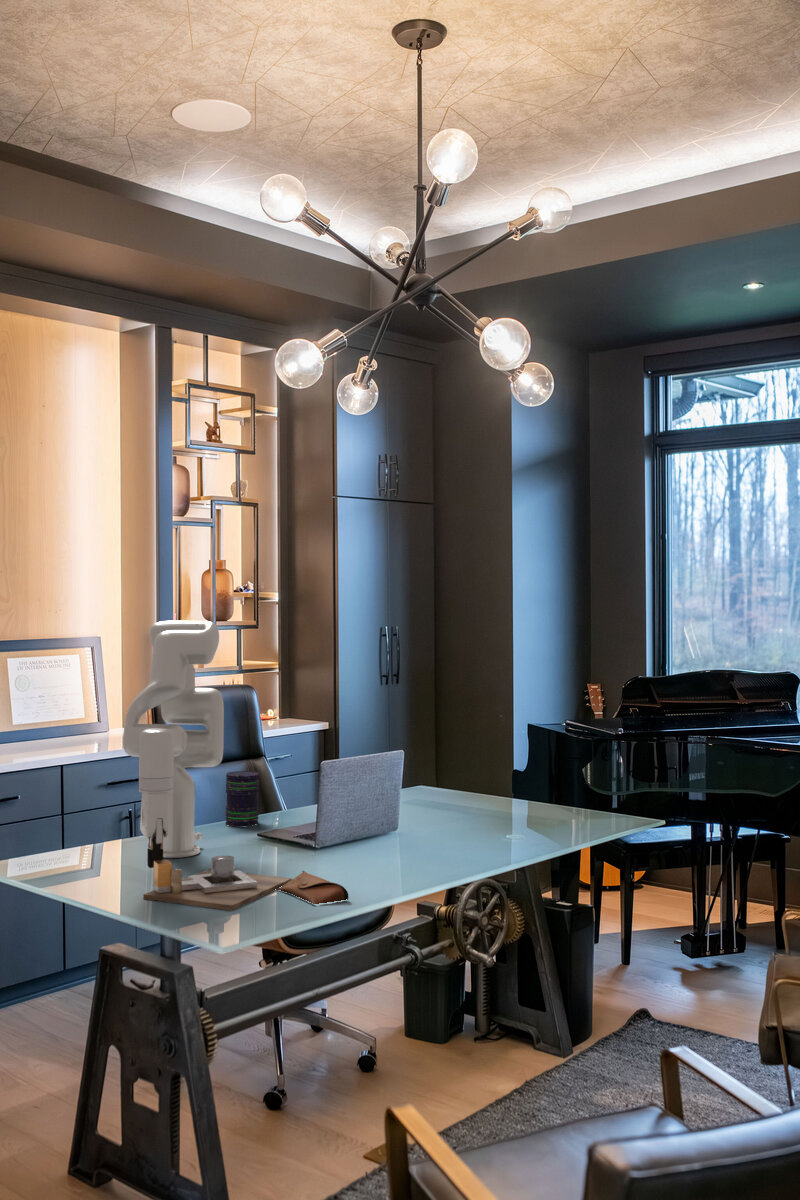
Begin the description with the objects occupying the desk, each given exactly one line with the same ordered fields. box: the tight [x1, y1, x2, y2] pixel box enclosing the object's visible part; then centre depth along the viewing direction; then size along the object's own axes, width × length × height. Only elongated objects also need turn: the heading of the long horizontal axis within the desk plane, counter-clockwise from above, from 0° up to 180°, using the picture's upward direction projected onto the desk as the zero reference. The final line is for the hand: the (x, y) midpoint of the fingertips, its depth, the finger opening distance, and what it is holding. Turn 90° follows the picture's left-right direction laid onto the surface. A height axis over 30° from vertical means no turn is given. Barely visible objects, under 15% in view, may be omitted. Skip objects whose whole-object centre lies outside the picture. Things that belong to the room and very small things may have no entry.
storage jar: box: [224, 770, 260, 827], centre depth 314 cm, size 10×10×15 cm
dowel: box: [172, 868, 183, 894], centre depth 229 cm, size 2×2×5 cm
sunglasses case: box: [277, 870, 349, 904], centre depth 232 cm, size 18×7×7 cm
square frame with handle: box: [153, 859, 257, 893], centre depth 234 cm, size 21×12×6 cm, turn 117°
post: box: [210, 855, 235, 884], centre depth 236 cm, size 5×5×6 cm
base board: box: [142, 868, 293, 911], centre depth 235 cm, size 26×22×1 cm
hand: (155, 866), depth 237 cm, fingers closed
